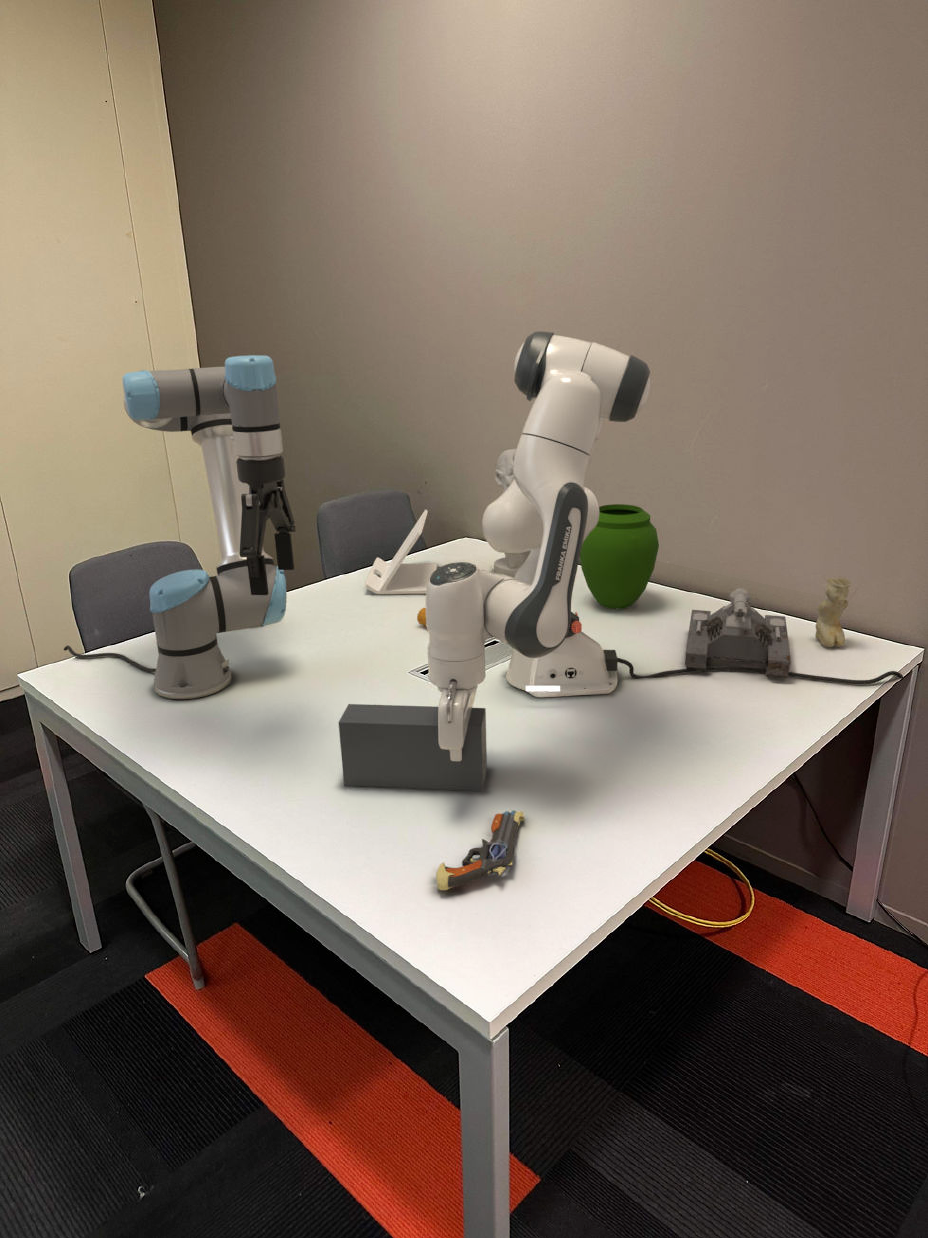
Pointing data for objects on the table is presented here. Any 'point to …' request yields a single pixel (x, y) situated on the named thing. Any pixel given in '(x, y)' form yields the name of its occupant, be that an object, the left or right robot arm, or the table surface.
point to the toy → (738, 636)
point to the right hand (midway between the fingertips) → (459, 746)
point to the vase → (619, 555)
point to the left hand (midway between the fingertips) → (273, 581)
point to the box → (408, 749)
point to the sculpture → (832, 613)
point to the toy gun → (485, 854)
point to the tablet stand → (401, 569)
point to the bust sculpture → (503, 479)
